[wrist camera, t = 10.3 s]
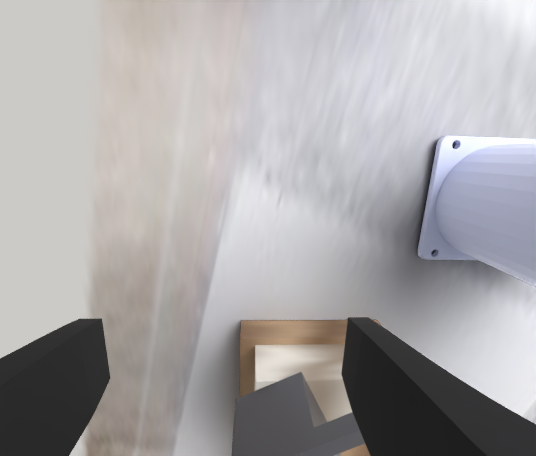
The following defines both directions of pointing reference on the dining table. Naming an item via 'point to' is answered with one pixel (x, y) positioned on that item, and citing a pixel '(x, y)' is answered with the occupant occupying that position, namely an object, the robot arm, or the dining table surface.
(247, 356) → the display stand
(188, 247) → the dining table surface
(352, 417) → the grey notched block
